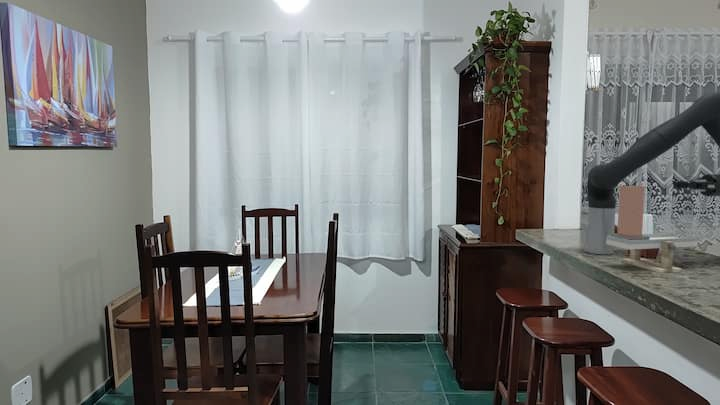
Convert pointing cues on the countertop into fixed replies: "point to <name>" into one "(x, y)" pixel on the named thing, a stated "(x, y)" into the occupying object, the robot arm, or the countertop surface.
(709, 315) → the countertop surface
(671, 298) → the countertop surface
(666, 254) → the pivot stand
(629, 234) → the block
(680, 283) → the countertop surface
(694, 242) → the beam
